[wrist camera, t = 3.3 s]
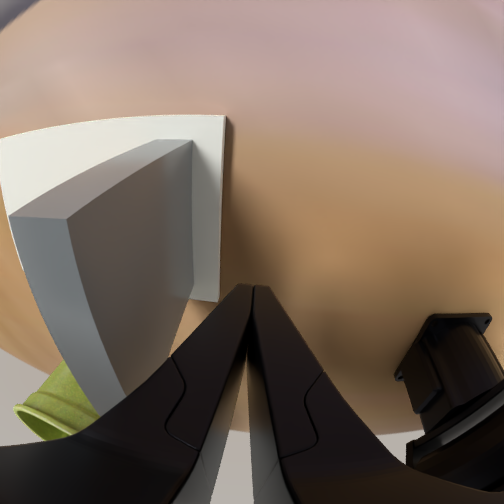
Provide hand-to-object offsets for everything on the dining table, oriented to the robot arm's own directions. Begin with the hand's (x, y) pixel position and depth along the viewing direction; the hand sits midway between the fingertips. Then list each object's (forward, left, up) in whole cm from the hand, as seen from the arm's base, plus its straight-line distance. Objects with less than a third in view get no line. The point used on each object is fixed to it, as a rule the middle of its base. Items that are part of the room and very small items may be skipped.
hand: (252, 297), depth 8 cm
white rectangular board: (+9, 0, -6) cm, 10 cm away
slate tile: (+4, 0, -5) cm, 6 cm away
